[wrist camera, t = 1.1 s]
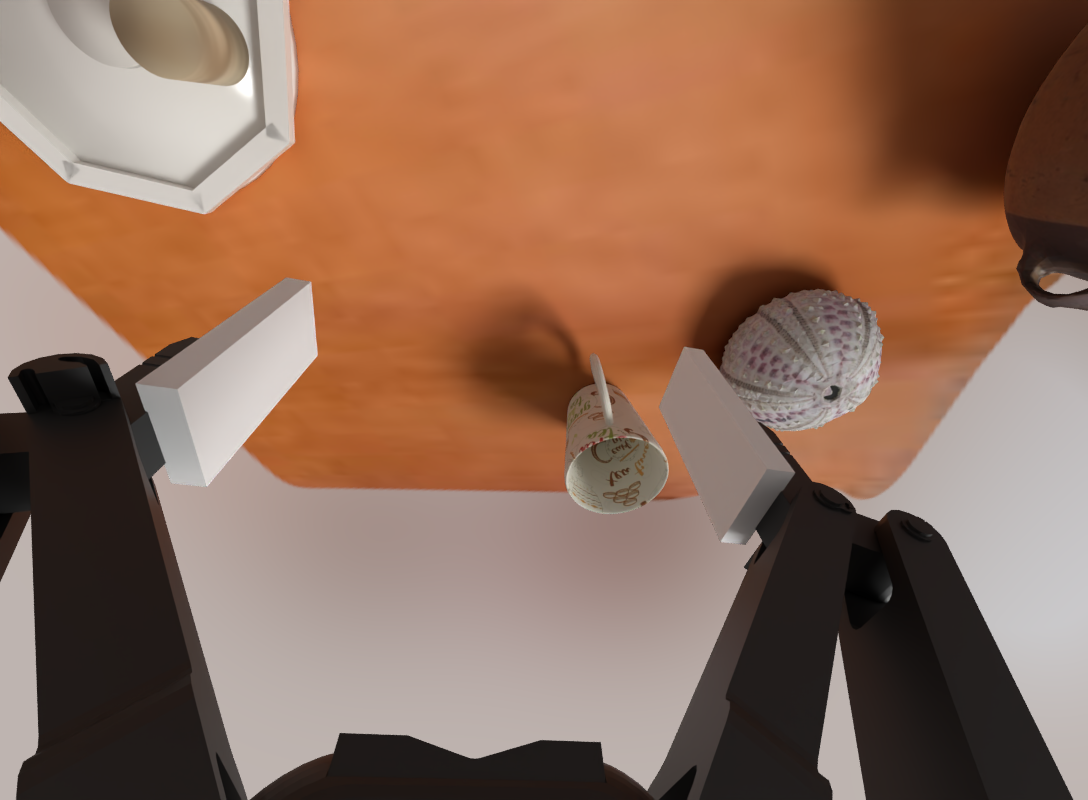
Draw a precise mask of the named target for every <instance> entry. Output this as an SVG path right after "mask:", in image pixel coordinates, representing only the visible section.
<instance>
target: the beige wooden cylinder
mask: <svg viewBox="0 0 1088 800" xmlns="http://www.w3.org/2000/svg"><path fill="white" fill-rule="evenodd" d="M109 12H110V18H111V22H112V26H113V28H114V31H115V33H116V35H117V37H118V39H119V41H120V43H121V44H122V46H123V47H124V49H125V50H126V51H127V53H128V54H129V55H130V56H131V57H132V58H133V59H134V60H135V61H136V62H137V63H138V64H139V65H140V66H141V67H143V68H144V69H146V70H147V71H149V72H150V73H152V74H154V75H156V76H159V77H162V78H166V79H172V80H180V81H188V82H196V83H204V84H212V85H220V86H231V85H235V84H237V83H239V82H240V81H241V80H242V79H243V78H244V77H245V75H246V73H247V70H248V66H249V52H248V47H247V44H246V41H245V38H244V36H243V34H242V32H241V30H240V29H239V27H238V26H237V24H236V23H235V22H234V21H233V19H232V18H231V17H230V16H229V15H228V14H227V13H225V12H224V11H223V10H222V9H220V8H219V7H217V6H215V5H213V4H210V3H208V2H205V1H203V0H110V1H109Z"/></svg>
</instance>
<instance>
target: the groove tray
mask: <svg viewBox="0 0 1088 800" xmlns="http://www.w3.org/2000/svg"><path fill="white" fill-rule="evenodd" d="M109 1H110V0H0V121H1V122H2V123H3V124H4V125H5V126H6V127H7V128H8V129H9V130H10V131H12V132H13V133H14V134H15V135H16V136H17V137H18V138H19V139H20V140H21V141H22V142H24V143H25V144H26V145H27V146H28V147H29V148H30V149H31V150H32V151H33V152H35V153H36V154H37V155H38V156H39V157H40V158H41V159H42V160H43V161H44V162H45V163H47V164H48V165H49V166H50V167H51V168H52V169H53V170H54V171H55V172H56V173H57V174H59V175H60V176H61V177H62V178H63V179H64V180H65V181H66V182H68V183H70V184H74V185H79V186H83V187H87V188H92V189H96V190H101V191H105V192H109V193H114V194H118V195H122V196H127V197H131V198H136V199H140V200H144V201H149V202H153V203H157V204H162V205H166V206H171V207H175V208H179V209H184V210H188V211H192V212H197V213H201V214H207V213H210V212H213V211H214V210H215V209H216V208H217V207H219V206H220V205H221V204H222V203H223V202H225V201H226V200H227V199H228V198H229V197H231V196H232V195H233V194H234V193H235V192H237V191H238V190H239V189H241V188H244V187H246V186H247V185H249V184H250V183H252V182H253V181H255V180H256V179H257V178H259V177H260V176H261V175H262V174H263V173H264V172H265V171H266V170H267V169H268V168H269V167H270V166H271V165H272V163H273V162H274V161H275V159H276V158H278V157H279V156H280V155H281V154H282V153H284V152H285V151H286V150H287V149H289V148H290V147H291V146H292V145H293V144H295V143H294V142H295V132H294V116H295V111H296V104H297V97H298V74H299V69H298V58H297V47H296V41H295V35H294V30H293V25H292V20H291V16H290V12H289V0H203V1H205V2H208V3H210V4H213V5H215V6H217V7H219V8H220V9H222V10H223V11H224V12H225V13H227V14H228V15H229V16H230V17H231V18H232V19H233V21H234V22H235V23H236V24H237V26H238V27H239V29H240V30H241V32H242V34H243V36H244V38H245V41H246V44H247V47H248V52H249V66H248V70H247V73H246V75H245V77H244V78H243V79H242V80H241V81H240V82H239V83H237V84H235V85H231V86H220V85H212V84H204V83H196V82H188V81H180V80H172V79H166V78H162V77H159V76H156V75H154V74H152V73H150V72H149V71H147V70H146V69H144V68H143V67H141V66H140V65H139V64H138V63H137V62H136V61H135V60H134V59H133V58H132V57H131V56H130V55H129V54H128V53H127V51H126V50H125V49H124V47H123V46H122V44H121V43H120V41H119V39H118V37H117V35H116V33H115V31H114V28H113V26H112V22H111V18H110V12H109Z"/></svg>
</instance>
